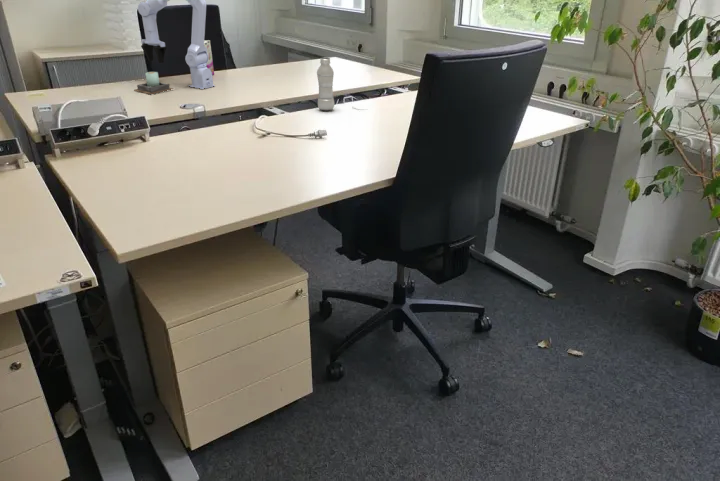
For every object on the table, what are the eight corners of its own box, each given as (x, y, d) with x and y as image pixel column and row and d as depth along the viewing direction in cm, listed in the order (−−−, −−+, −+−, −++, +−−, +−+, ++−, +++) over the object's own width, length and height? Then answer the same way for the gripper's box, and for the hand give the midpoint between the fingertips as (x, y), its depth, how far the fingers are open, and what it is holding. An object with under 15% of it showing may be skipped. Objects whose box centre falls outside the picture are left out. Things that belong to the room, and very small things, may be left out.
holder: (173, 90, 244) (172, 84, 243) (151, 95, 235) (150, 89, 234) (156, 86, 250) (155, 80, 249) (134, 91, 241) (133, 85, 240)
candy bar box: (204, 74, 274) (200, 40, 266) (214, 74, 274) (210, 40, 266) (198, 79, 264) (194, 43, 257) (208, 79, 264) (204, 43, 257)
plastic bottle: (332, 112, 215) (331, 60, 205) (315, 111, 216) (314, 59, 206) (336, 108, 220) (335, 57, 211) (320, 107, 221) (319, 56, 212)
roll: (162, 88, 243) (160, 72, 240) (153, 90, 239) (150, 74, 236) (154, 87, 246) (152, 71, 242) (145, 89, 242) (142, 73, 238)
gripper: (133, 30, 247) (138, 61, 253) (153, 33, 240) (158, 64, 246) (146, 28, 252) (151, 58, 259) (166, 31, 245) (171, 62, 251)
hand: (156, 61), depth 253 cm, fingers open, 7 cm apart
